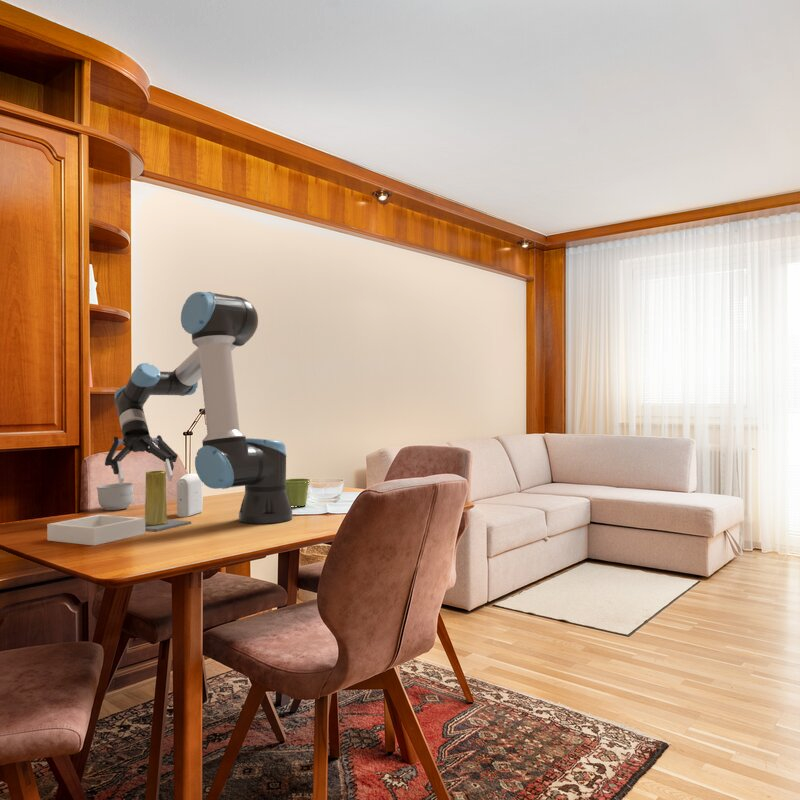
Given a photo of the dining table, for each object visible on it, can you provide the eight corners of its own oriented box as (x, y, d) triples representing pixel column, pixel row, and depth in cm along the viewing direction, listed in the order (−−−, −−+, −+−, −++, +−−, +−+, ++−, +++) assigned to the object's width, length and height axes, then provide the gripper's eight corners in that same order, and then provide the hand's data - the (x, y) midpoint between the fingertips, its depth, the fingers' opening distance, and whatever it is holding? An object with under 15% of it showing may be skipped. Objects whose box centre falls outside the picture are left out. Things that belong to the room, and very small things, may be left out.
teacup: (125, 511, 214) (124, 486, 214) (90, 511, 214) (90, 486, 214) (142, 505, 228) (142, 481, 228) (110, 505, 228) (110, 481, 228)
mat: (191, 523, 191) (191, 521, 191) (156, 531, 179) (156, 529, 179) (155, 520, 196) (155, 518, 196) (120, 528, 185) (120, 525, 185)
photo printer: (188, 517, 202) (187, 475, 202) (174, 517, 203) (174, 475, 203) (204, 512, 212) (204, 472, 212) (192, 511, 213) (191, 472, 213)
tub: (145, 533, 176) (145, 518, 176) (94, 545, 162) (94, 528, 162) (100, 529, 183) (100, 514, 183) (47, 540, 168) (47, 524, 168)
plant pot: (277, 508, 218) (277, 481, 218) (287, 504, 228) (287, 478, 228) (305, 509, 217) (305, 481, 217) (314, 504, 226) (314, 478, 226)
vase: (139, 524, 186) (139, 472, 186) (154, 521, 192) (154, 470, 192) (157, 526, 184) (157, 473, 184) (172, 522, 190) (172, 470, 190)
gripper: (173, 434, 219) (187, 485, 206) (88, 437, 205) (98, 491, 192) (177, 417, 214) (192, 468, 202) (91, 419, 201) (101, 474, 188)
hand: (146, 480), depth 197 cm, fingers open, 13 cm apart
